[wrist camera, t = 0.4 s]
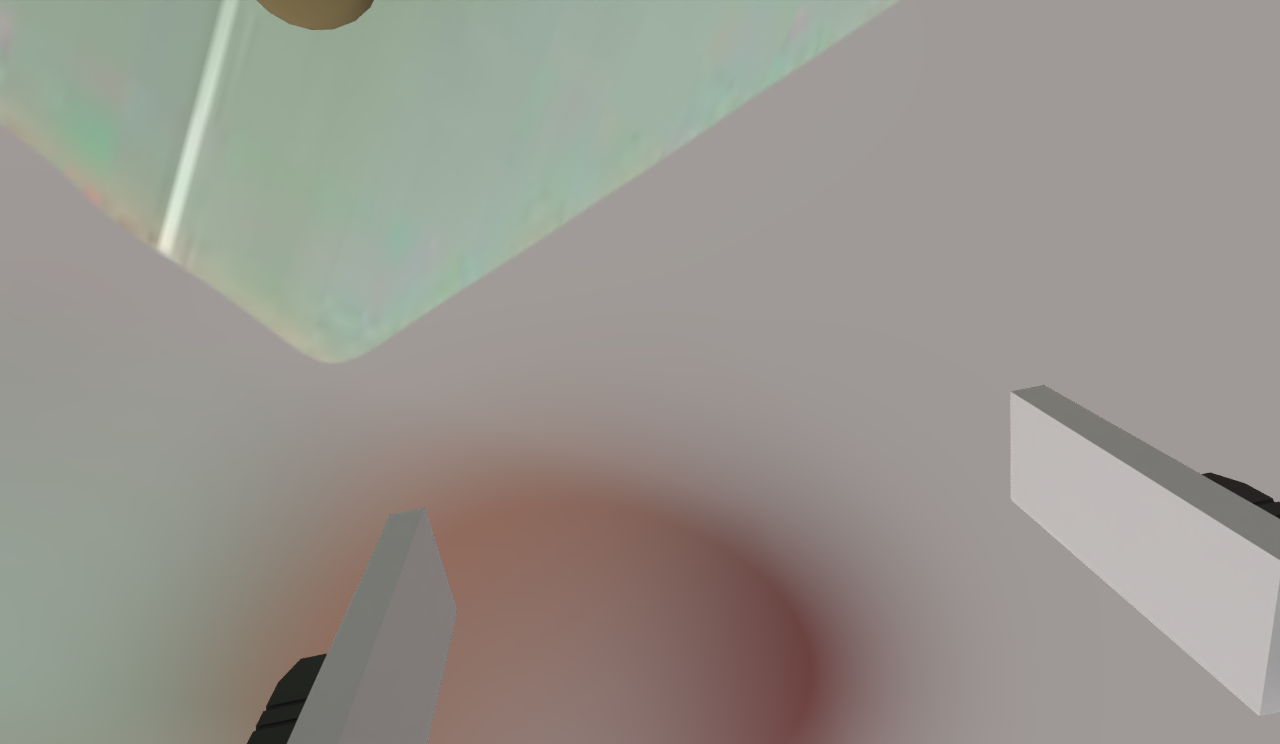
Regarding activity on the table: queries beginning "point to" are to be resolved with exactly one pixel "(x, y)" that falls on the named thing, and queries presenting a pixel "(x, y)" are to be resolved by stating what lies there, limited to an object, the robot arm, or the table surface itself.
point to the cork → (317, 12)
